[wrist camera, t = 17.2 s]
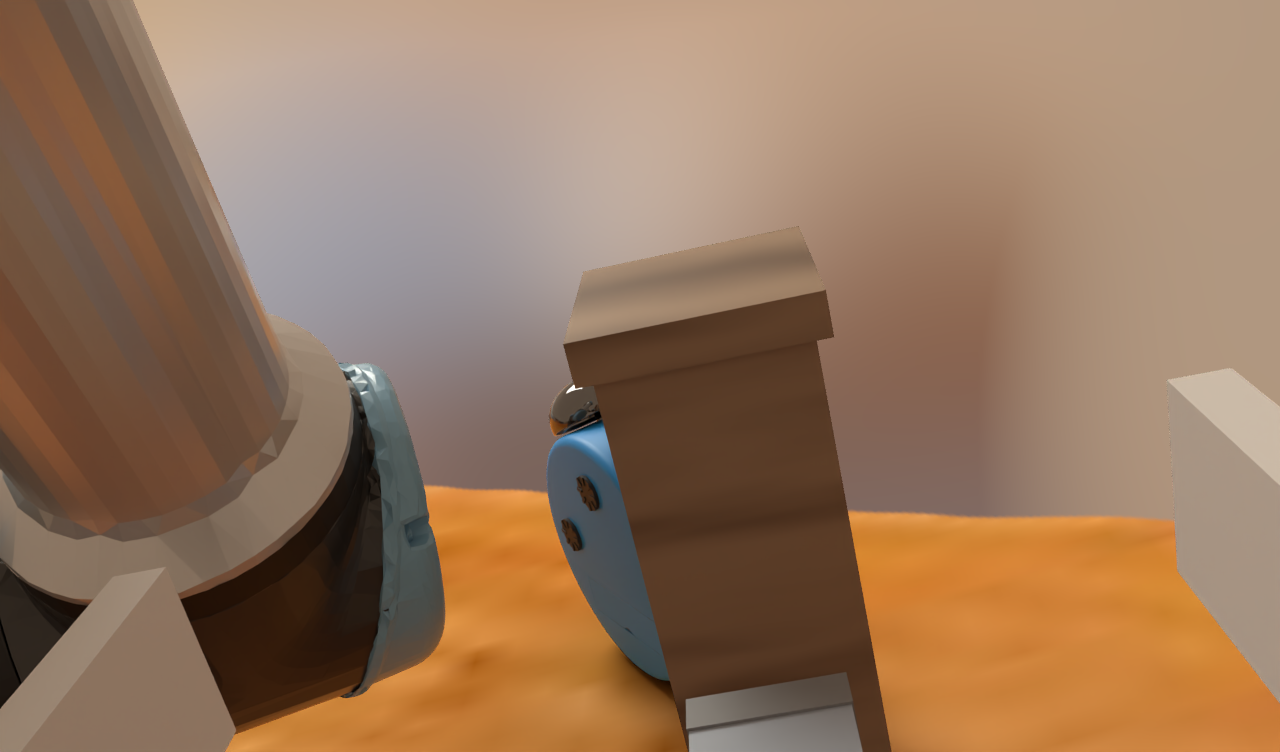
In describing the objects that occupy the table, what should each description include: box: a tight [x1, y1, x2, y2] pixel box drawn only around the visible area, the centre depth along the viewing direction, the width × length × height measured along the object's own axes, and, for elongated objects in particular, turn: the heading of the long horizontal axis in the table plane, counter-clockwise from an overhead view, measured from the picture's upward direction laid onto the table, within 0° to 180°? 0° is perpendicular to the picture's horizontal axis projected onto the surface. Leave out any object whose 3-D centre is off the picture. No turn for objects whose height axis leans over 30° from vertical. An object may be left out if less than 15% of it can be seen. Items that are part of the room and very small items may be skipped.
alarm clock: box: [546, 381, 670, 681], centre depth 57 cm, size 13×6×15 cm, turn 30°
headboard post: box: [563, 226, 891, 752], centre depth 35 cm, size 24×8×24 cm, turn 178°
